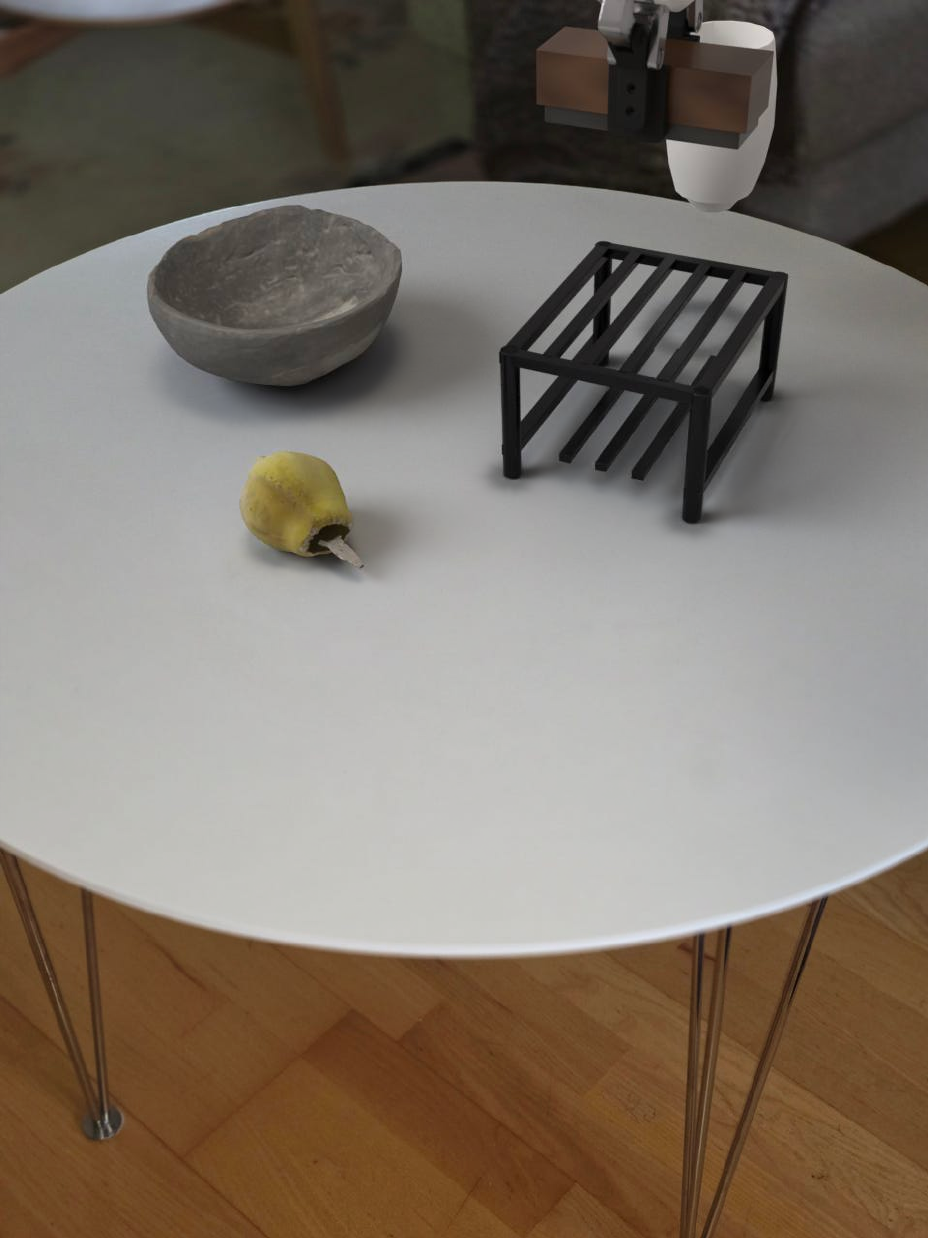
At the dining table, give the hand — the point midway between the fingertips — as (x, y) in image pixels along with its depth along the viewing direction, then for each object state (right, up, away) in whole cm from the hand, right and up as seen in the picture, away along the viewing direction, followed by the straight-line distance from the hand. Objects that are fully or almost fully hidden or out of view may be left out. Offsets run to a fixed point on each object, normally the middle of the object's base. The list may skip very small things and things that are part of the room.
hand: (651, 118), depth 75 cm
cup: (+7, -6, +25) cm, 27 cm away
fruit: (-20, -23, +7) cm, 31 cm away
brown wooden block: (0, 0, 0) cm, 0 cm away
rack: (+1, -15, +15) cm, 21 cm away
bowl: (-23, -9, +24) cm, 35 cm away
